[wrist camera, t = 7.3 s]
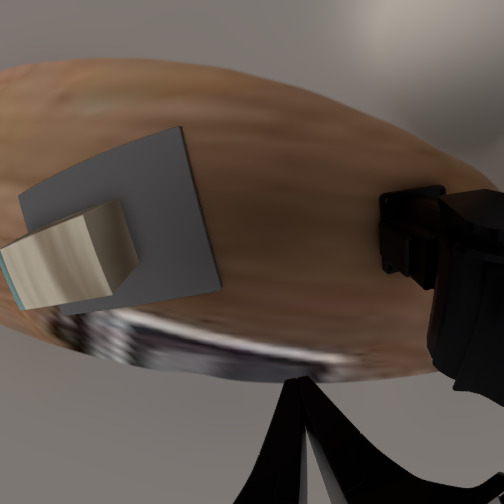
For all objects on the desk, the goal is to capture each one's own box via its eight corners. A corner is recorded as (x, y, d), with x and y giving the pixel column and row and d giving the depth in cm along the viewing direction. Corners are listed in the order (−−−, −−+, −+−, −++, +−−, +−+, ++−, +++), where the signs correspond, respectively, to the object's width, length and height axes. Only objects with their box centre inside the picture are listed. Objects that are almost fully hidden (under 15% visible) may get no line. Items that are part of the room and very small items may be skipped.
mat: (181, 126, 17) (179, 126, 16) (222, 286, 21) (221, 290, 20) (22, 194, 18) (17, 195, 17) (66, 312, 22) (63, 315, 21)
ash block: (82, 215, 13) (-5, 251, 14) (112, 295, 15) (20, 310, 15) (118, 197, 18) (31, 231, 18) (139, 261, 19) (51, 282, 20)
